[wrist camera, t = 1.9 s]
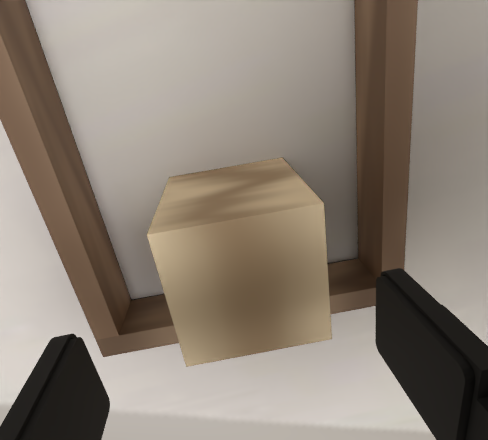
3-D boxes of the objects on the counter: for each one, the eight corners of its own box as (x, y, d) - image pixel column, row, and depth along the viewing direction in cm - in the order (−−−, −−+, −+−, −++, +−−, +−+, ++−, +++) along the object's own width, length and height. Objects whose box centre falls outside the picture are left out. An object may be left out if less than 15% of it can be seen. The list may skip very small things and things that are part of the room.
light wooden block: (282, 157, 18) (325, 202, 11) (293, 255, 20) (332, 338, 14) (168, 177, 17) (145, 235, 11) (192, 273, 20) (185, 366, 13)
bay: (382, -208, 12) (432, -288, 10) (377, 271, 21) (402, 300, 18) (-62, -144, 12) (-142, -209, 9) (117, 319, 21) (103, 357, 18)
